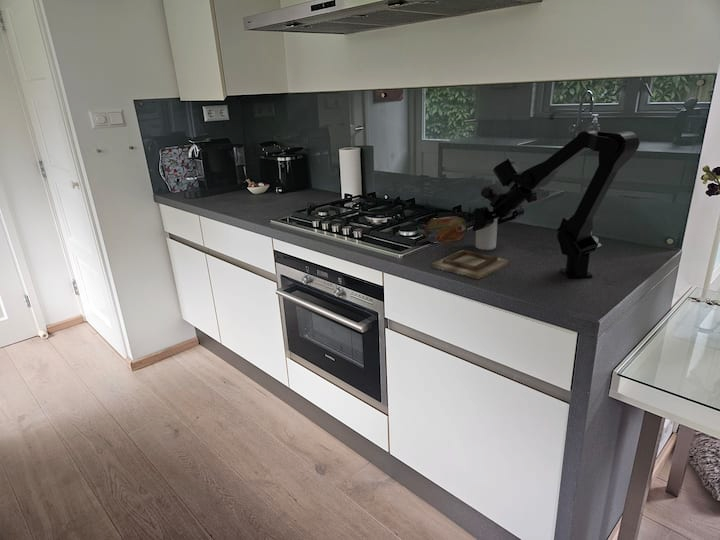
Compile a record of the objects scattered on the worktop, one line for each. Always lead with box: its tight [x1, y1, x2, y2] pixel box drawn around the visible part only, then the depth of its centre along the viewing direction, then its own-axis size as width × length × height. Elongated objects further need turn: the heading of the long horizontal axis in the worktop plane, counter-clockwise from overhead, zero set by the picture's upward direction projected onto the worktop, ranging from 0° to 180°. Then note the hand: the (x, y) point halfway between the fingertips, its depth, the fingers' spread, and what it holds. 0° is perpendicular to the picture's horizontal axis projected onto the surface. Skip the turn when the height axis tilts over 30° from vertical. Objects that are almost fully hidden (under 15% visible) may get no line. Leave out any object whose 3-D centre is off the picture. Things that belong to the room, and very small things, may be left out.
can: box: [475, 209, 498, 251], centre depth 157 cm, size 6×6×12 cm
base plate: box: [431, 249, 509, 280], centre depth 144 cm, size 16×16×2 cm
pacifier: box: [591, 231, 602, 249], centre depth 155 cm, size 7×6×6 cm
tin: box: [424, 215, 468, 244], centre depth 166 cm, size 15×3×8 cm, turn 105°
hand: (483, 227), depth 158 cm, fingers open, 9 cm apart
